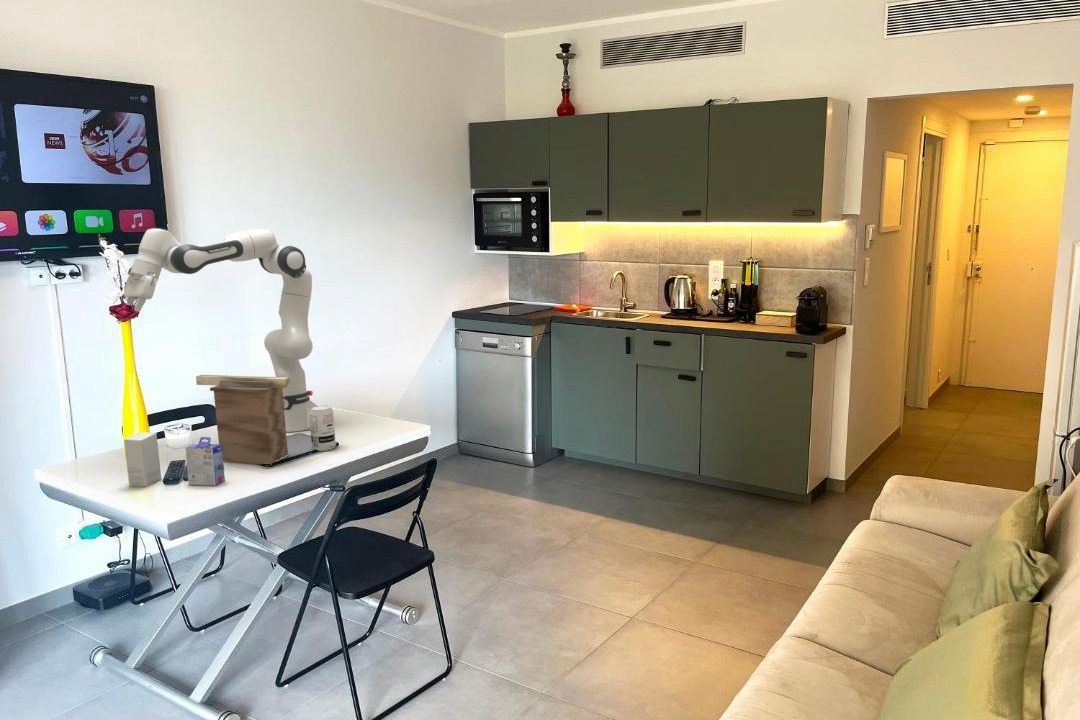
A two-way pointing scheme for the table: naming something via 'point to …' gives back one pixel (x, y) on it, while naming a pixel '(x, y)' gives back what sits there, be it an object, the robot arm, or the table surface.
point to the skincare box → (142, 459)
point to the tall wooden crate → (250, 421)
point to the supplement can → (322, 428)
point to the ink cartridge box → (205, 463)
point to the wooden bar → (214, 380)
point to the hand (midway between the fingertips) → (132, 310)
